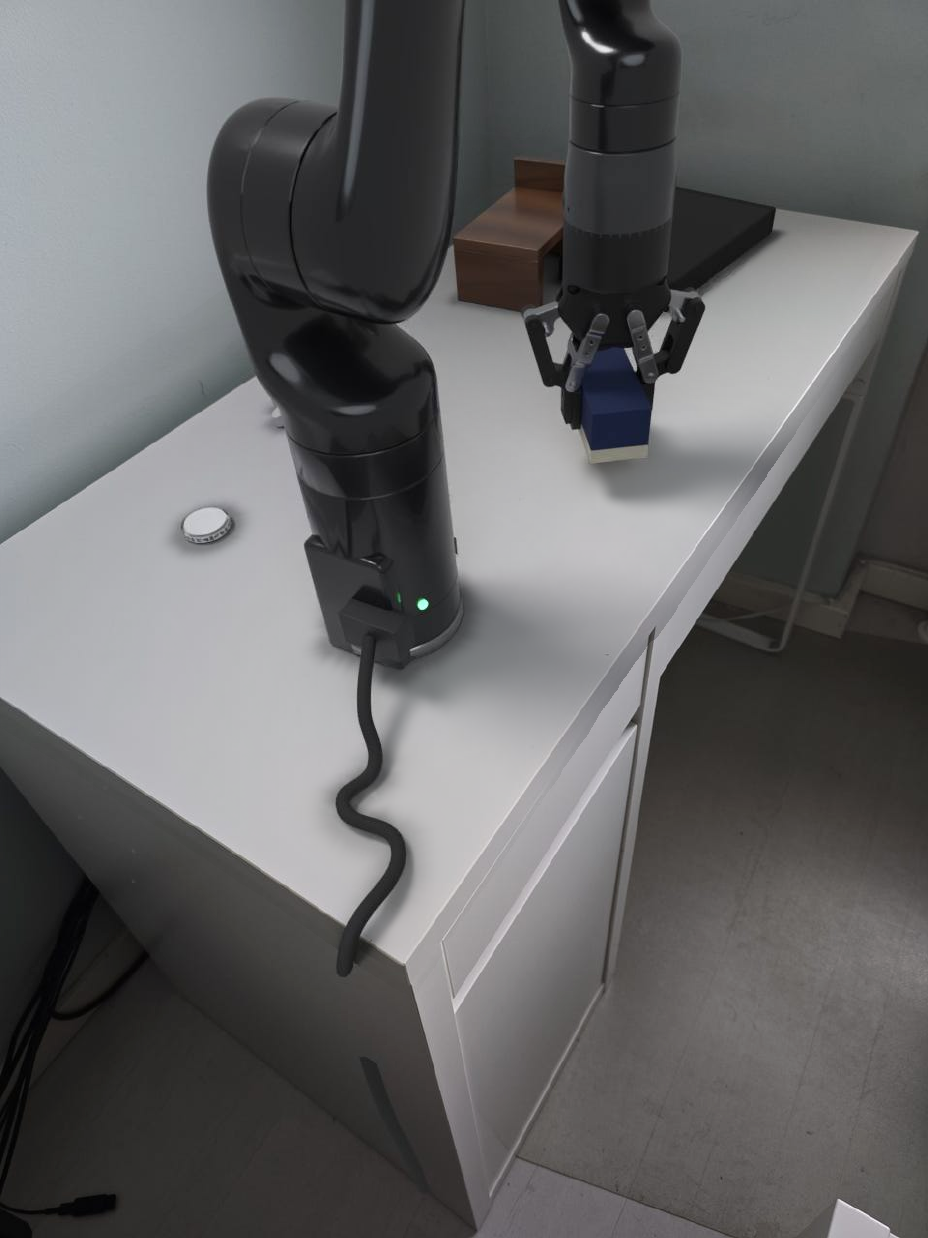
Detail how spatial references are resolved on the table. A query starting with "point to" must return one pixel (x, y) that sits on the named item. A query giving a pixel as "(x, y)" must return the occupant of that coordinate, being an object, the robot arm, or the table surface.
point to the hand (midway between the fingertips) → (606, 420)
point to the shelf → (513, 239)
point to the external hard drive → (709, 235)
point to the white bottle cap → (206, 524)
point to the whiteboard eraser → (614, 409)
